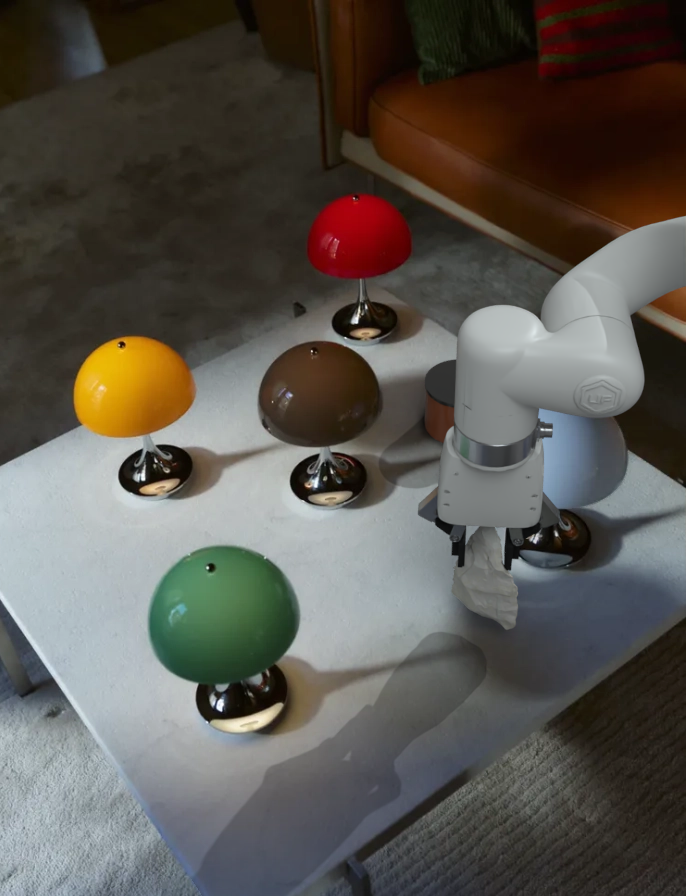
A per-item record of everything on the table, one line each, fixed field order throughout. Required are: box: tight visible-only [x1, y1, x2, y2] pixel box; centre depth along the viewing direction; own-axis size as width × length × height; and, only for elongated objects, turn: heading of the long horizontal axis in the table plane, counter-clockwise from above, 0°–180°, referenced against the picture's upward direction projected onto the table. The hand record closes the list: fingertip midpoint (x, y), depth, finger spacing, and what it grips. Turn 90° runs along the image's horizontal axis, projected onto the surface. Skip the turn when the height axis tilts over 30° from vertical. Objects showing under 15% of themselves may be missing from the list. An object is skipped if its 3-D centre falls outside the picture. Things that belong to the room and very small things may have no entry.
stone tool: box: [450, 526, 519, 631], centre depth 102 cm, size 8×3×15 cm, turn 50°
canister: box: [424, 359, 456, 444], centre depth 130 cm, size 10×10×8 cm
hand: (484, 557), depth 101 cm, fingers closed on stone tool, 4 cm apart
